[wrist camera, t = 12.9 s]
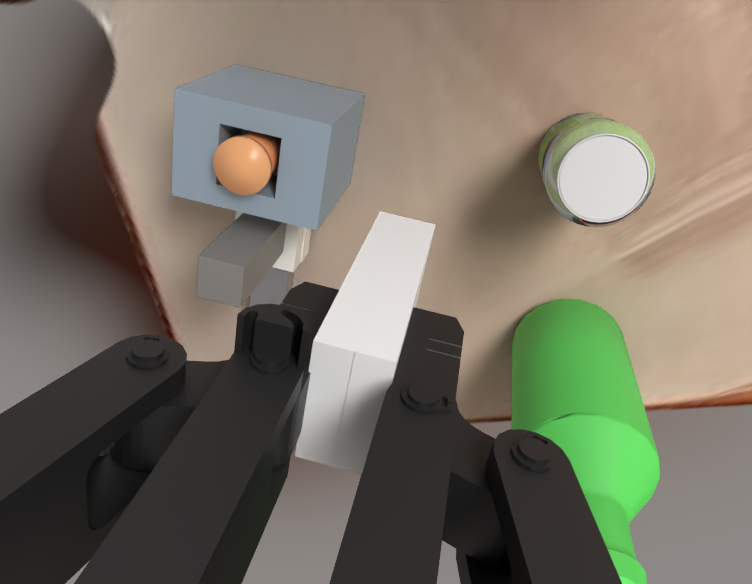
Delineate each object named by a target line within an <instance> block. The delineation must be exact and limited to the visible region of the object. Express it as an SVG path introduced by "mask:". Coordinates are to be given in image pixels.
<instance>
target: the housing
mask: <svg viewBox="0 0 752 584" xmlns="http://www.w3.org/2000/svg"><path fill="white" fill-rule="evenodd" d="M364 98H365V94H364V93H359V92H355V91H351V90H346V89H342V88H337V87H333V86H329V85H324V84H320V83H315V82H311V81H306V80H302V79H298V78H293V77H289V76H284V75H280V74H276V73H271V72H267V71H262V70H258V69H254V68H249V67H245V66H240V65H236V64H235V65H232V66H230V67H227V68H225V69H222V70H220V71H217V72H215V73H212V74H210V75H207V76H205V77H202V78H200V79H197V80H195V81H192V82H190V83H187V84H185V85H182V86H180V87H177V88H175V90H174V126H173V161H172V195H173V196H177V197H181V198H185V199H189V200H193V201H197V202H201V203H205V204H210V205H214V206H218V207H222V208H226V209H230V210H234V211H238V212H242V213H246V214H250V215H254V216H259V217H263V218H267V219H271V220H275V221H279V222H283V223H287V224H291V225H295V226H299V227H303V228H308V229H312V230H316V231H317V230H318V228H319V227H320V225H321V224H322V222H323V221H324V220H325V218H326V217H327V215H328V214H329V213H330V211H331V210H332V208H333V207H334V205H335V204H336V203H337V201H338V200H339V198H340V197H341V196H342V194H343V193H344V191H345V190H346V189H347V187H348V186H349V184H350V181H351V175H352V169H353V163H354V157H355V151H356V145H357V139H358V133H359V127H360V121H361V115H362V109H363V103H364ZM248 131H253V132H258V133H262V134H266V135H270V136H275V137H279V138H282V139H281V148H280V157H279V166H278V168H277V169H276V170H275V171H274V172H273V173H272V175H271V178H270V180H269V182H268V183H267V184H266V185H265V186H264V187H263V188H262V189H261V190H260V191H259V192H257V193H255V194H252V195H239V194H235V193H233V192H231V191H229V190H228V189H227V188H225V187H224V186H223V185H222V184H221V183H220V181H219V180H218V178H217V176H216V174H215V171H214V166H213V158H214V154H215V151H216V149H217V148H218V147H219V145H220V144H221V143H223V142H224V141H226V140H227V139H229V138H231V137H234V136H242V135H244V134H245V133H247V132H248Z"/></svg>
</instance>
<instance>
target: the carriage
mask: <svg viewBox="0 0 752 584" xmlns="http://www.w3.org/2000/svg"><path fill="white" fill-rule="evenodd" d="M310 236H311V229H308V228H303V227H299V226H295V225H291V224H287V223H283V222H279V221H275V220H271V219H267V218H263V217H259V216H254V215H250V214H246V213H242V212H238V211H236V216H235V221H234V222H233V223H232V224H231V225H230V226H229V227H228V228H227V229H226V230H225V231H224V232H223V233H222V234H221V235H220V236H218V237H217V238H216V239H215V240H214V241H213V242H212V243H211V244H210V245H209V246H208V247H207V248H206V249H205V250H204V251H203V252H202V253H201V254H200V255H199V258H198V277H197V297H200V298H204V299H208V300H212V301H216V302H220V303H224V304H228V305H232V306H236V307H239V308H241V306H242V305H243V304H244V303H245V301H246V300H247V299H248V297H249V296H250V295H251V293H252V292H253V291H254V289H255V288H256V287H257V286H258V284H259V283H260V282H261V280H262V279H263V278H264V276H265V275H266V274H267V273H268V271H269V270H270V269H271V267H274V268H278V269H282V270H286V271H290V272H294V271H295V269H296V268H297V266H298V265H299V264H300V263H302V261H303V260H304V258H305V257H306V255H307V254H308V250H309V243H310Z"/></svg>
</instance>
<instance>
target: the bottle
mask: <svg viewBox="0 0 752 584" xmlns="http://www.w3.org/2000/svg"><path fill="white" fill-rule="evenodd" d="M511 402H512V430H514V429H523V430H528V431H532V432H536V433H538V434H541V435H543V436H545V437H547V438H549V439H551V440H552V441H553V442H554V443H555V444H557V445H558V446H559V447H560V448H561V449H562V450H563V451H564V453H565V454H566V456H567V457H568V459H569V460H570V462H571V465H572V467H573V469H574V472H575V474H576V476H577V479H578V481H579V484H580V486H581V488H582V491H583V493H584V495H585V498H586V500H587V502H588V505H589V507H590V509H591V512H592V514H593V516H594V519H595V521H596V523H597V526H598V528H599V530H600V533H601V535H602V537H603V540H604V542H605V544H606V547H607V549H608V552H609V554H610V556H611V559H612V561H613V563H614V566H615V568H616V570H617V573H618V575H619V577H620V580H621V582H622V584H647V579H646V572H645V570H644V569H643V567H642V566H641V565H640V563H639V562H638V561H637V560H636V558H635V554H634V548H633V543H632V539H631V534H630V529H629V522H630V521H631V520H632V519H633V518H634V517H635V516H636V514H637V513H638V512H639V511H640V510H641V509H642V507H643V506H644V505H645V504H646V503H647V502H648V500H649V499H650V498H651V497H652V496H653V493H654V491H655V488H656V486H657V483H658V481H659V478H660V468H659V458H658V453H657V449H656V446H655V443H654V439H653V436H652V432H651V429H650V425H649V422H648V419H647V415H646V412H645V408H644V405H643V401H642V398H641V395H640V391H639V388H638V384H637V381H636V378H635V374H634V371H633V367H632V364H631V361H630V357H629V354H628V351H627V347H626V344H625V341H624V337H623V334H622V331H621V330H620V328H619V326H618V325H617V323H616V321H615V319H614V318H613V317H612V316H611V315H610V314H608V313H607V312H606V311H604V310H603V309H602V308H601V307H599V306H597V305H594V304H591V303H588V302H585V301H582V300H564V299H560V300H556V301H553V302H549V303H546V304H542V305H540V306H539V307H537V308H536V309H534V310H533V311H531V312H530V313H528V314H527V315H525V317H524V318H523V320H522V321H521V322H520V324H519V325H518V327H517V328H516V329H515V334H514V338H513V342H512V388H511Z"/></svg>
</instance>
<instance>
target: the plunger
mask: <svg viewBox="0 0 752 584" xmlns="http://www.w3.org/2000/svg"><path fill="white" fill-rule="evenodd" d="M281 139H282V138H279V137H275V136H270V135H266V134H262V133H258V132H253V131H248V132H247V133H245V134H244V135H242V136H234V137H231V138H229V139H227V140H226V141H224V142H223V143H221V144H220V145H219V147H218V148H217V149H216V151H215V154H214V158H213V166H214V171H215V174H216V176H217V178H218V180H219V181H220V183H221V184H222V185H223V186H224V187H225V188H227V189H228V190H229V191H231V192H233V193H235V194H239V195H252V194H255V193H257V192H259V191H260V190H261V189H262V188H263V187H264V186H265V185H266V184H267V183H268V182H269V180H270V178H271V175H272V173H273V172H274V171H275V170H276V169H277V168H278V166H279V157H280V148H281Z"/></svg>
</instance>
